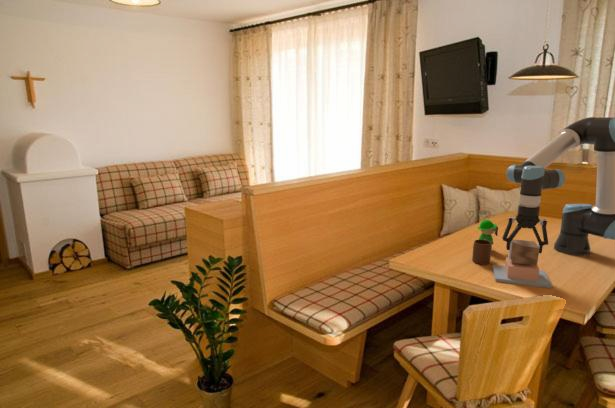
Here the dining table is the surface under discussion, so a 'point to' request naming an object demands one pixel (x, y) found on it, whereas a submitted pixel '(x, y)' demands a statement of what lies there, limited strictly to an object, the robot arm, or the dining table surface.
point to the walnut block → (524, 252)
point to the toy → (487, 230)
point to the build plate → (519, 281)
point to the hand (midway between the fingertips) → (522, 258)
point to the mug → (482, 251)
